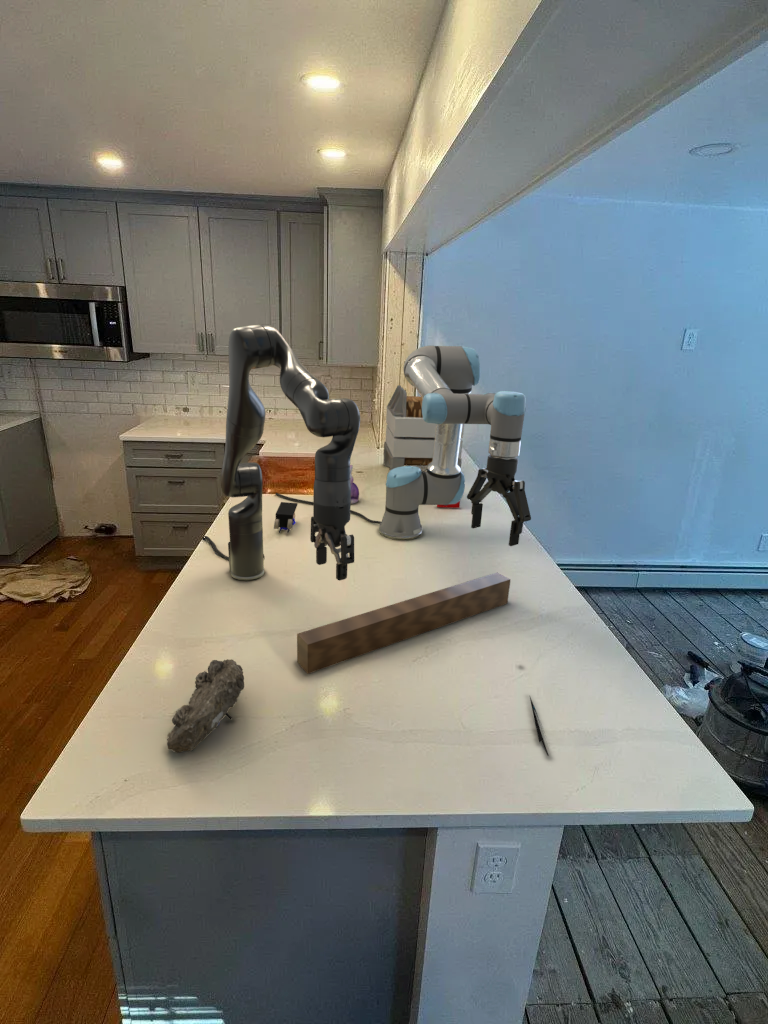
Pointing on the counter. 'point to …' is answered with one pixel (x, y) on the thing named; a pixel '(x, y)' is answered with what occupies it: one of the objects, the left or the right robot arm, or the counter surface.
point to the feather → (538, 726)
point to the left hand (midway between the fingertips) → (331, 571)
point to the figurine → (353, 489)
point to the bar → (398, 622)
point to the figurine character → (285, 516)
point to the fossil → (206, 705)
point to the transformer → (409, 433)
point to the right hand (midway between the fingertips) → (493, 535)
